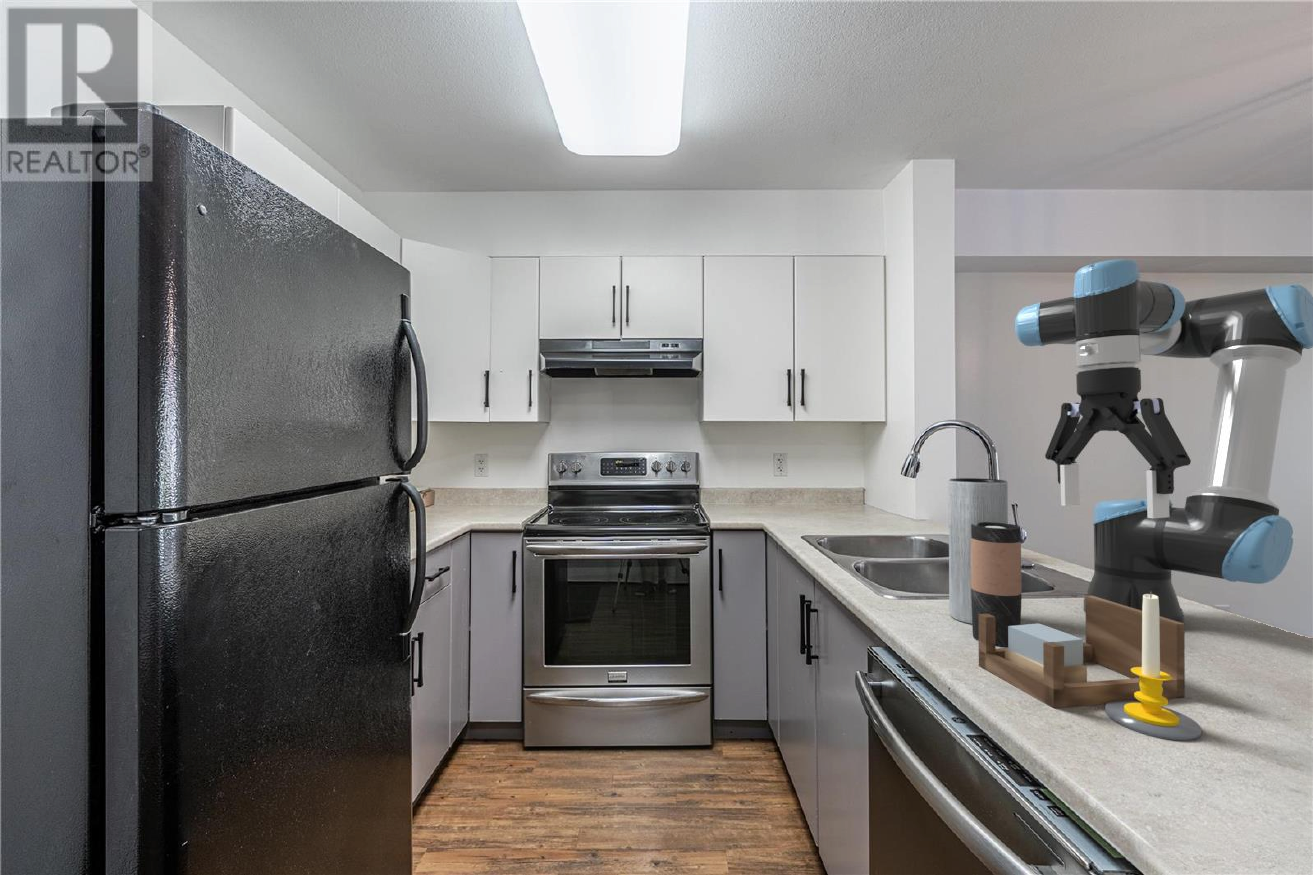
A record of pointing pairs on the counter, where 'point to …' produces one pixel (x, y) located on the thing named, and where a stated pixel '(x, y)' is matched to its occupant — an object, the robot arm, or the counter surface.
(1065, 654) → the offcut upper
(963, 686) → the counter surface
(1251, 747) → the counter surface
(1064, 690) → the frame
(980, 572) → the travel mug
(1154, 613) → the candle
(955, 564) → the vase
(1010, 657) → the offcut lower
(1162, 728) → the disc
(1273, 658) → the counter surface
